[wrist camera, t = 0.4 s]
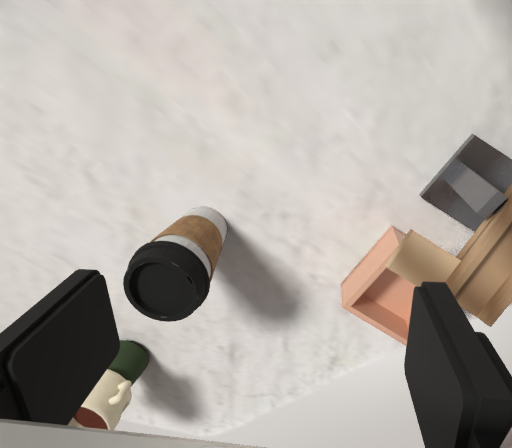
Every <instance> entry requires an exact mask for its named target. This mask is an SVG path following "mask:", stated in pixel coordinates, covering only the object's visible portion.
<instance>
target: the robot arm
mask: <svg viewBox="0 0 512 448" xmlns="http://www.w3.org/2000/svg"><path fill="white" fill-rule="evenodd" d="M119 350H120V340H119V336H118V332H117V328H116V323H115V319H114V315H113V311H112V306H111V302H110V298H109V294H108V289H107V285H106V281H105V278H104V276H103V275H100V273H99V271H97V270H85V269H79V270H77V271H75V272H74V273H73V274H71V275H70V276H69V277H68V278H67V279H65V280H64V281H63V282H62V283H61V284H59V285H58V286H57V287H56V288H55V289H53V290H52V291H51V292H50V293H49V294H47V295H46V296H45V297H44V298H43V299H41V300H40V301H39V302H38V303H37V304H35V305H34V306H33V307H32V308H31V309H29V310H28V311H27V312H26V313H24V314H23V315H22V316H21V317H20V318H18V319H17V320H16V321H15V322H14V323H12V324H11V325H10V326H9V327H8V328H6V329H5V330H4V331H3V332H2V333H0V448H265V447H257V446H249V445H240V444H231V443H223V442H214V441H205V440H196V439H187V438H178V437H170V436H160V435H152V434H143V433H133V432H124V431H115V430H106V429H97V428H87V427H77V426H68V424H69V422H70V421H71V420H72V418H73V417H74V415H75V414H76V413H77V411H78V410H79V408H80V407H81V406H82V404H83V403H84V401H85V400H86V398H87V397H88V396H89V394H90V393H91V391H92V390H93V389H94V387H95V386H96V384H97V383H98V382H99V380H100V379H101V377H102V376H103V374H104V373H105V372H106V370H107V369H108V367H109V366H110V365H111V363H112V362H113V360H114V359H115V358H116V356H117V355H118V353H119ZM404 366H405V376H406V379H407V383H408V387H409V390H410V394H411V398H412V401H413V405H414V408H415V412H416V415H417V419H418V423H419V426H420V430H421V434H422V437H423V441H424V445H425V448H512V376H511V375H510V373H509V371H508V370H507V368H506V367H505V365H504V363H503V362H502V360H501V358H500V357H499V355H498V354H497V352H496V350H495V349H494V347H493V346H492V344H491V342H490V341H489V339H488V338H487V336H486V335H485V334H483V333H481V332H475V331H474V330H473V328H472V326H471V324H470V323H469V321H468V319H467V317H466V316H465V314H464V312H463V311H462V309H461V307H460V306H459V304H458V302H457V300H456V299H455V297H454V295H453V294H452V292H451V290H450V288H449V287H448V285H447V284H446V282H427V281H423V282H422V284H421V286H415V287H414V291H413V299H412V307H411V315H410V323H409V331H408V339H407V347H406V355H405V364H404Z"/></svg>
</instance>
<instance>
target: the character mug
mask: <svg viewBox="0 0 512 448" xmlns="http://www.w3.org/2000/svg"><path fill="white" fill-rule="evenodd" d="M148 363H149V357H148V354H147V353H146V352H145V351H144V350H143V349H142V348H141V347H139V346H138V345H137V344H135V343H132V342H130V341H122V340H120V350H119V353H118V355H117V356H116V358H115V359H114V360H113V362H112V363H111V365H110V366H109V367H108V369H107V370H106V372H105V373H104V374H103V376H102V377H101V379H100V380H99V382H98V383H97V384H96V386H95V387H94V389H93V390H92V391H91V393H90V394H89V396H88V397H87V398H86V400H85V401H84V403H83V404H82V406H81V407H80V408H79V410H78V411H77V413H76V414H75V415H74V417H73V418H72V420H71V421H70V422H69V424H68V426H77V427H87V428H97V429H106V430H114V429H115V427H116V425H117V424H118V422H119V420H120V417H121V414H122V412H123V411H124V410H125V408H126V407H127V406H128V405H129V403H130V400H131V397H132V395H131V389H130V387H131V386H132V385H133V384H134V382H135V381H136V380H137V379H138V378H139V376H140V375H141V374H142V372H143V371H144V370H145V368H146V367H147V365H148Z"/></svg>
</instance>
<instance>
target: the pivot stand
mask: <svg viewBox="0 0 512 448" xmlns="http://www.w3.org/2000/svg"><path fill="white" fill-rule="evenodd" d="M511 184H512V159H510V158H509V157H507V156H506V155H504V154H503V153H501V152H500V151H498V150H496V149H495V148H493V147H492V146H490V145H489V144H487V143H486V142H484V141H483V140H481V139H480V138H478V137H477V136H475V135H473V134H471V136H470V137H469V138H468V139H467V140H466V141H465V142H464V144H463V145H462V146H461V147H460V148H459V149H458V151H457V152H456V153H455V154H454V155H453V156H452V158H451V159H450V160H449V161H448V162H447V163H446V164H445V166H444V167H443V168H442V169H441V170H440V171H439V173H438V174H437V175H436V176H435V177H434V178H433V179H432V181H431V182H430V183H429V184H428V185H427V186H426V188H425V189H424V190H423V191H422V192H421V193H420V194H419V195H420V196H421V197H422V198H424V199H425V200H427V201H428V202H430V203H431V204H433V205H435V206H436V207H438V208H439V209H441V210H442V211H444V212H446V213H447V214H449V215H450V216H452V217H453V218H455V219H457V220H458V221H460V222H461V223H463V224H464V225H466V226H468V227H469V228H471V229H472V230H474V231H476V230H477V229H478V227H479V226H480V225H481V224H482V222H483V221H484V220H485V219H487V218H488V217H489V216H490V215H491V214H492V213H493V212H494V211H495V210H496V209H497V208H498V207H499V206H500V205H501V204H502V203H503V202H504V201H505V200H506V199H507V198H508V197H507V196H506V195H504V193H505V192H506V191H507V189H508V188H509V187H510V185H511Z"/></svg>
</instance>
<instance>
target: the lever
mask: <svg viewBox="0 0 512 448" xmlns="http://www.w3.org/2000/svg"><path fill="white" fill-rule="evenodd" d="M504 195H506V196H507V197H508V198H507V199H506V200H505V201H504V202H503V203H502V204H501V205H500V206H499V207H498V208H497V209H496V210H495V211H494V212H493V213H492V214H491V215H490V216H489V217H488V218H487V219H485V220H484V221H483V222H482V224H481V225H480V226H479V227H478V229H477V230H476V231H475V233H474V234H473V235H472V237H471V238H470V239H469V241H468V242H467V243H466V245H465V246H464V247H463V249H462V250H461V251H460V253H459V254H458V255H457V256H456V257H454V256H453V255H451V254H450V253H448V252H446V251H445V250H443V249H442V248H440V247H439V246H437V245H435V244H434V243H432V242H431V241H429V240H427V239H426V238H424V237H423V236H421V235H419V234H418V233H416V232H415V231H413V230H410V231H409V232H408V234H407V235H406V237H405V238H404V239H403V241H402V242H401V243H400V245H399V246H398V248H397V249H396V250H395V252H394V253H393V255H392V256H391V257H390V259H389V260H388V262H387V263H386V264H385V266H386V267H387V268H388V269H390V270H391V271H393V272H394V273H396V274H398V275H399V276H401V277H403V278H404V279H406V280H407V281H409V282H411V283H412V284H414V285H416V286H421V284H422V282H423V281H427V282H446V284H447V285H448V287H449V288H450V290H451V292H452V294H453V295H454V297H455V299H456V300H457V302H458V304H459V306H460V307H462V308H463V309H465V310H467V311H468V312H470V313H472V314H473V315H475V316H476V317H478V318H479V319H480V320H482V321H483V322H484V323H485V324H487V325H488V326H490V327H491V326H492V325H493V324H494V322H495V321H496V320H497V318H498V317H499V316H500V315H501V314H502V312H503V311H504V310H505V309H506V308H507V306H508V305H509V304H510V303H511V301H512V184H511V185H510V187H509V188H508V189H507V191H506V192H505V193H504Z"/></svg>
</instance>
